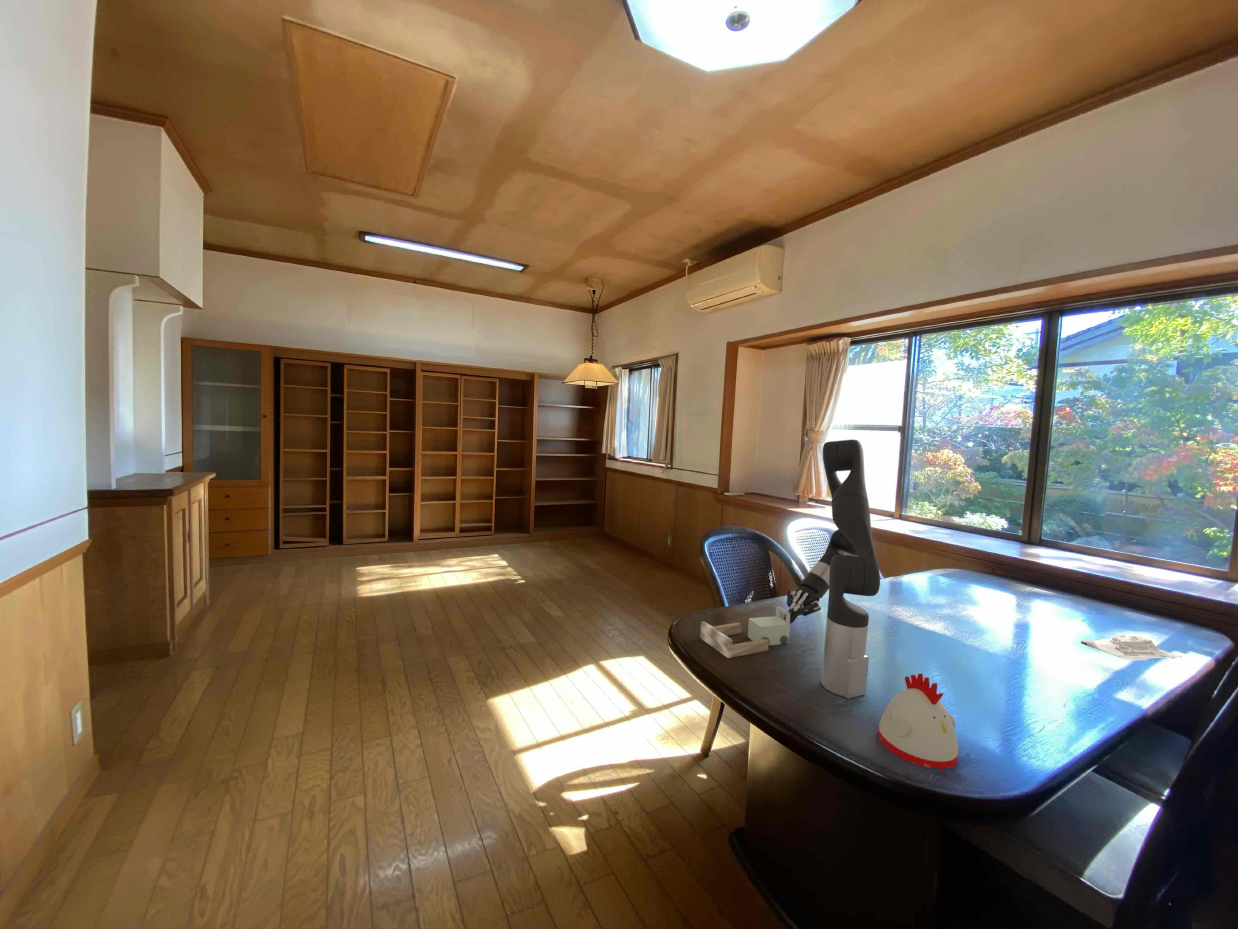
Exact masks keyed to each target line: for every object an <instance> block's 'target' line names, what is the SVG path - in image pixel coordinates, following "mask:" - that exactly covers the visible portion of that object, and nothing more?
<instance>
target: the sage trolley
mask: <svg viewBox="0 0 1238 929" xmlns="http://www.w3.org/2000/svg"><path fill="white" fill-rule="evenodd" d="M788 611H789V610H786V609H784V608H783V607H781V606H780V605H777V606H776V609H775V615H774V616H764V617H763V616H762V617H751V618H748V626H747V627H748V628H747V629H748V630H747V638H749V640H750V641H756V640H762V639H767V640H769V645H768V646H776V645H777V646H778V645H786V644H787V645H788V644H790V632H791V631H790V630H791V624H790V613H789V612H788ZM781 612H782V613H783V614H784V615H786V621H785V620H784V618H783V619H782V617H781V616H780V614H781Z"/></svg>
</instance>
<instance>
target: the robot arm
mask: <svg viewBox="0 0 1238 929" xmlns="http://www.w3.org/2000/svg"><path fill="white" fill-rule="evenodd" d="M822 462H823V466H824V467H823V468H824V473H825V476H826V477H825V478H826V482H827V485H828V489H829V493H830V496H831V513H832V515H831V516H832V520H833V523H834V524H835V526H836V528H837V529H836V530H835V531H833V532H832V534H831V537H830V540H829V542H828V545H827V547H826V550H825V551H824V554H823V555H822V556H821V557H820V558H819V560H817V562H816V563H815V564H814V565H813V567H811V569H810V570H809V571H808V573H807V574H806V575H805V576H804V578H803V579H802V580H801V582H800V586H799V587H798V588H796V589H795V590H794V591H791V590H790V589H789V590H787V592H786V605H787V607H788V608H789V610H787V611H788V612H789V613H790V625H791V624H792V623H794V622H795V621H796V619H797V617H799V616H803V617H806V616H807V617H808V616H809V615H812V614H814V613H817V612H818V611H821V610H822V607H821V606H820V604H819V601H820V599H822V598H823V597H824V596H825V594H827V592H828V603H827V611H826V612H827V613H826V624H825V632H824V633H825V636H824V646H823V656H822V660H823V661H822V671H821V673H822V674H821V681H820V682H821V685H822V687H823V688H825V689H826V690H827V691H829V692H831V693H832V694H834V695H838V696H840V697H844V698H845V699H850V700H851V699H853V698H858V697H861V696H863V695H864V696H865V695H866V694H867V693H866V692H867V682H868V673H869V672H868V671H869V660H870V657H869V656H868V655H866V654H867V652H866V650H867V641H868V627H869V619H870V616H869V613H868V611H867V610H866V609H864V608H863V607H861V606H859V605H857V604H854V602H851V601H850V600H848V599H846V597H845V596H844V595H845V594H848V595H855V596H861V597H874V596H876V595H877V594H878V593H879V591H880V587H881V573H880V567H879V562H878V559H877V554H876V553H877V552H876V550H875V545H874V540H873V539H874V538H873V533H872V524H871V513H870V504H869V498H868V493H867V486H866V479H865V458H864V449H863V446H862V443H861V442H860V440H858V439H844V440H834V441H827V442H825V443H824V444H823V446H822ZM847 471H849V474H848V475H847V476H846V478H845V480H844V481H843V482H841V480H840V479H839V477H838V474H837V472H847ZM840 551H842V552H845V553H847V554H848V555H847V554H841V553H840ZM783 620H784V621H786V614H784V616H783Z"/></svg>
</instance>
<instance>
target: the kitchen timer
mask: <svg viewBox="0 0 1238 929" xmlns="http://www.w3.org/2000/svg"><path fill="white" fill-rule="evenodd" d="M904 682H905V685H906V689H905V690H902V691H900V692H898V693H897V694H896V695H894V696H893V697H892V698H891V700H890V701H889V702H888V704H887V706H886V708H885V709H884V711H883V712H882V715H881V717H880V720H879V722H878V723H879V724H878V733H877V734H878V735H877V736H879V737H878V739H879V740H881V741H880V743H881V742H882V743H881V744H882V746H884V747H885V748H886V749H887V748H888V749H887V750H888V751H889V750H890V751H889V752H890V753H892V752H893V753H892V754H893V755H895V754H896V755H897V756H896V755H895V756H896V757H898V756H899V758H900V757H901V758H900V759H902V758H903V759H902V760H904V759H905V760H904V761H906V760H907V761H906V762H908V761H910V762H913V763H915V764H914V765H916V764H918V765H921V766H920V767H922V766H924V767H923V768H926V767H931V768H939V769H938V770H942V769H943V770H945V769H944V768H948V767H952V768H954V767H955V766H956V765H957V763H958V759H959V744H958V738H957V734H956V731H955V727H956V721H955V719H954V717H953V716H952V715H951V714H950V713H949V712H948V711H947V709H946V707H945V706H944V705H943V703H942V702H941V701H940V700H941V699H942V698H943V696H944V692H941V693H940V692H939V693H938V683H937V682H934V683H932V684H931V683H930V677H928V676H925V677H924V676H923V673H918V674H917V676H916V674H911V675H910V676H909V675H907V676H904ZM930 684H931V685H930ZM910 762H909V763H910ZM913 763H912V764H913ZM955 764H956V765H955ZM918 765H917V766H918ZM954 765H955V766H954Z"/></svg>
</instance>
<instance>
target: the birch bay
mask: <svg viewBox="0 0 1238 929" xmlns="http://www.w3.org/2000/svg"><path fill="white" fill-rule="evenodd" d="M741 633H742V623H741V622H734V623H732V622H731V623H727V624H720V625H714V626H713V625H711V624H709V623H708V622H707V621H704V620H703V621H701V622H700V634H699V635H700V636H699V638H700V639H701V640H702V641H704V642H705V643H707V644H708V645H709V646H711V647H712V648H713V649H715V651H717V652H718V653H720V654H721V655H723V656H725V658H727V659H731V658H735V657H741V656H746V655H753V654H757V653H763V652H768V651H769V646H770V645H769V640H767V639H762V640H756V641H752V640H750V641H744V642H740V643H733V642H734V640H733V639H732V638H731V637H729V636H733V635H739V634H741Z"/></svg>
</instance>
